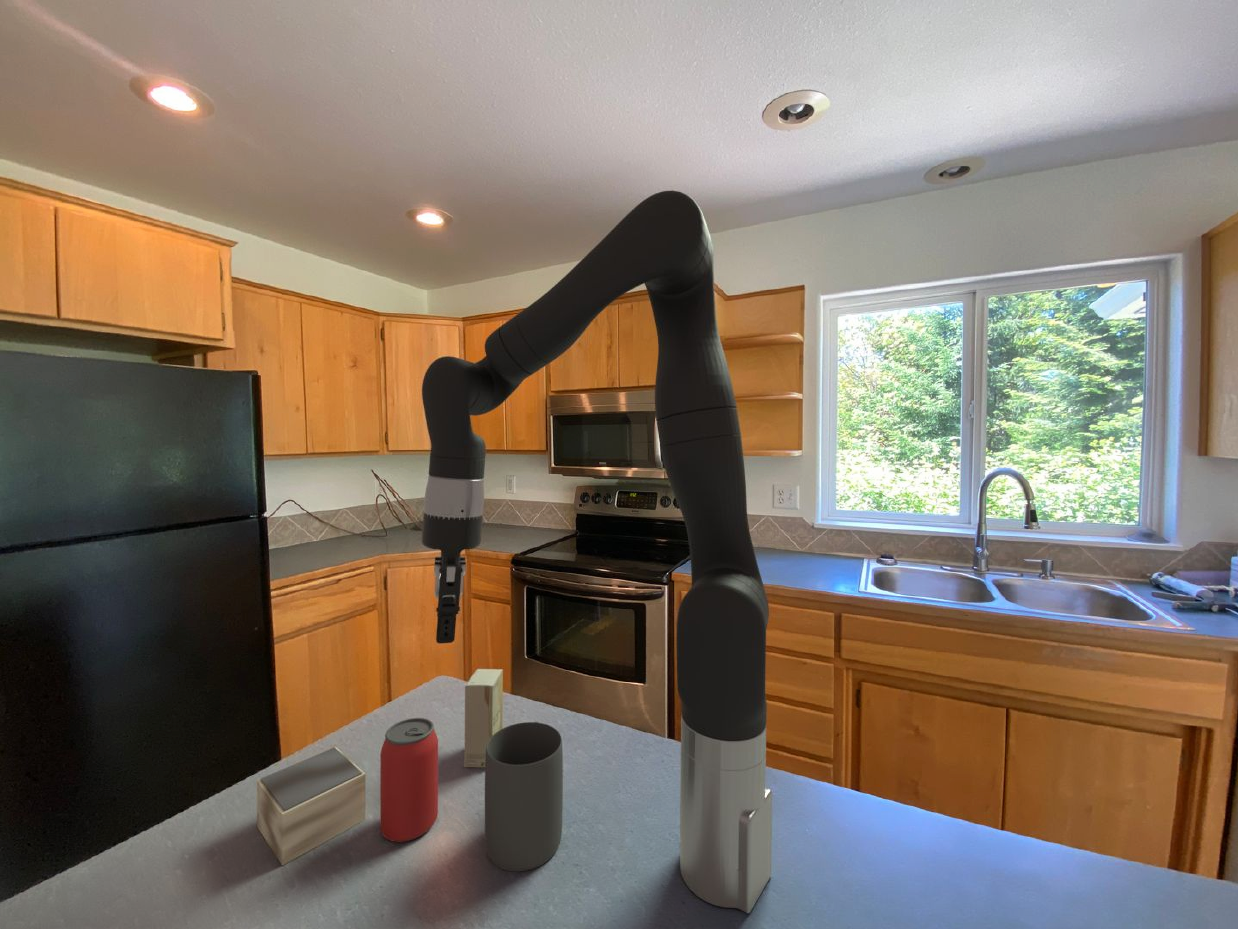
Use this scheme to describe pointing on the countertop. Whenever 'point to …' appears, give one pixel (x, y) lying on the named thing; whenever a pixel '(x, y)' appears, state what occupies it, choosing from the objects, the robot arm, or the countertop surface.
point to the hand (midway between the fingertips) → (445, 629)
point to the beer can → (408, 780)
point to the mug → (523, 795)
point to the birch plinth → (310, 803)
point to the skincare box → (482, 713)
